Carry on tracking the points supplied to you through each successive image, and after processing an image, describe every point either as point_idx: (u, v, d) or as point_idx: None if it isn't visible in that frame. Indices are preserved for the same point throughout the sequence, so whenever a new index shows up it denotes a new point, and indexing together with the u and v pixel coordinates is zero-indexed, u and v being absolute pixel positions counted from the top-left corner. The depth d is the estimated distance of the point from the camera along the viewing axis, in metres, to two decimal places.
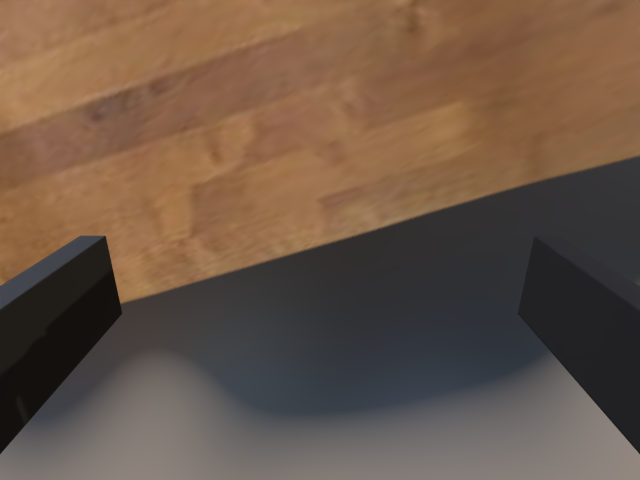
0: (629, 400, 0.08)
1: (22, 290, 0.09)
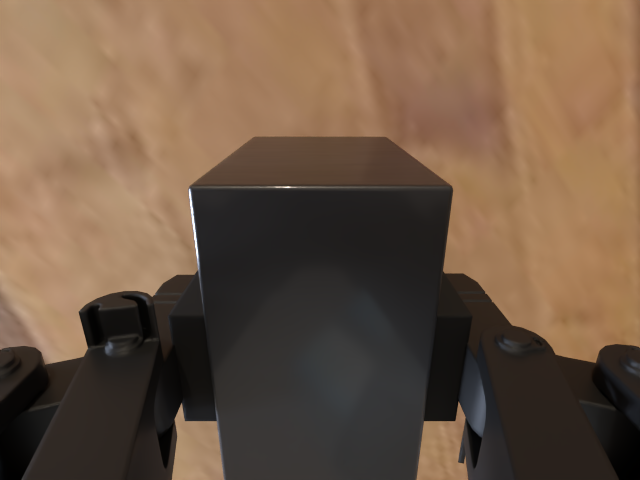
0: None
1: None
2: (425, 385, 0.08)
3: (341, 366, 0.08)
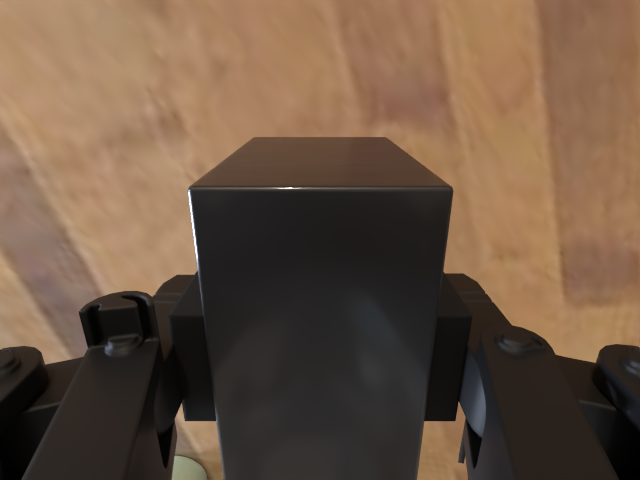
0: None
1: None
2: (425, 386, 0.08)
3: (341, 366, 0.08)
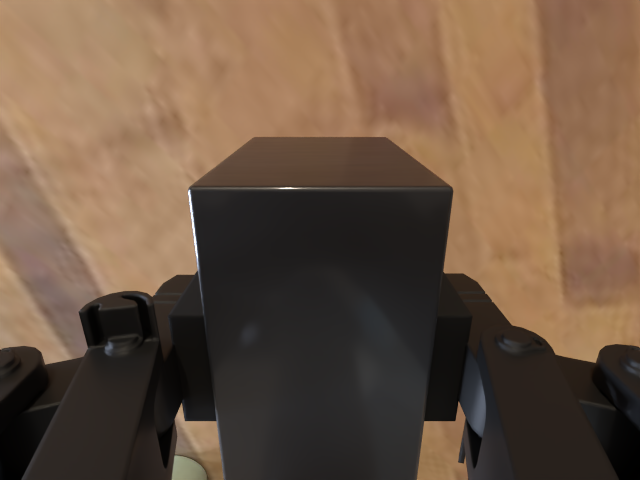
0: None
1: None
2: (425, 386, 0.08)
3: (341, 366, 0.08)
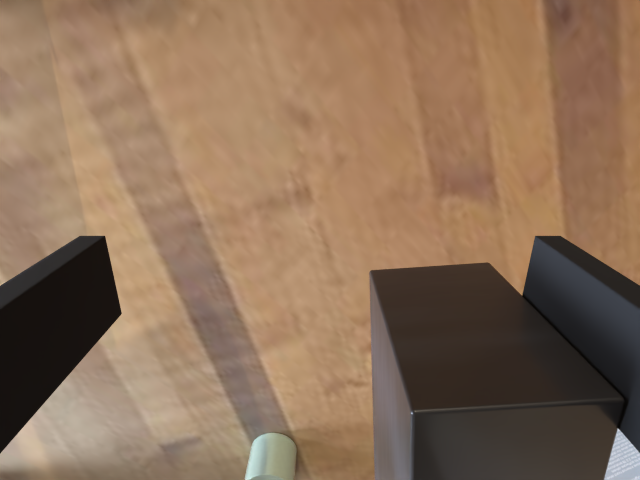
0: (630, 400, 0.08)
1: (21, 290, 0.09)
2: None
3: None
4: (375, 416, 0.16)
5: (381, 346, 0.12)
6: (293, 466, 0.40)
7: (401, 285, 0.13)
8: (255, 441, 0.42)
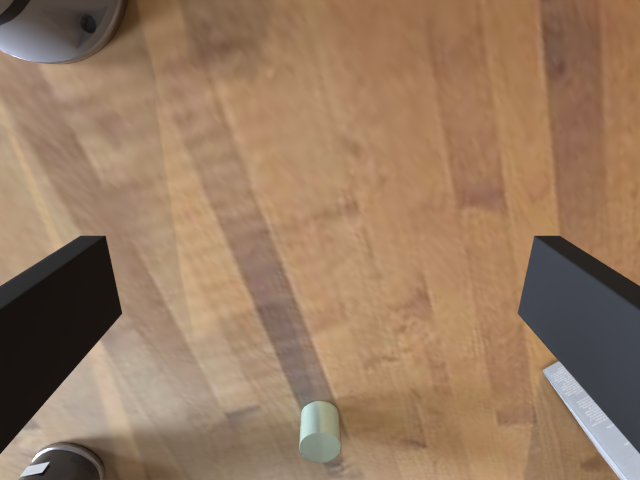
0: (629, 400, 0.08)
1: (22, 290, 0.09)
2: None
3: None
4: None
5: None
6: (338, 427, 0.49)
7: None
8: (305, 408, 0.51)
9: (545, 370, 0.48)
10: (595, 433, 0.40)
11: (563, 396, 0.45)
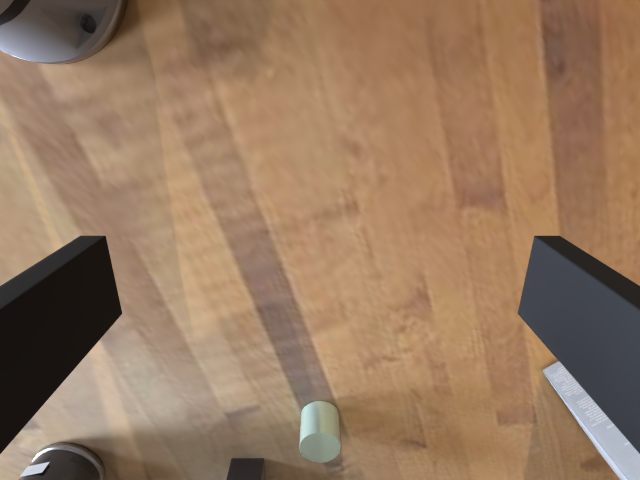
0: (629, 400, 0.08)
1: (22, 290, 0.09)
2: None
3: None
4: None
5: None
6: (338, 427, 0.49)
7: (236, 467, 0.53)
8: (305, 408, 0.51)
9: (545, 370, 0.48)
10: (595, 433, 0.40)
11: (563, 396, 0.45)
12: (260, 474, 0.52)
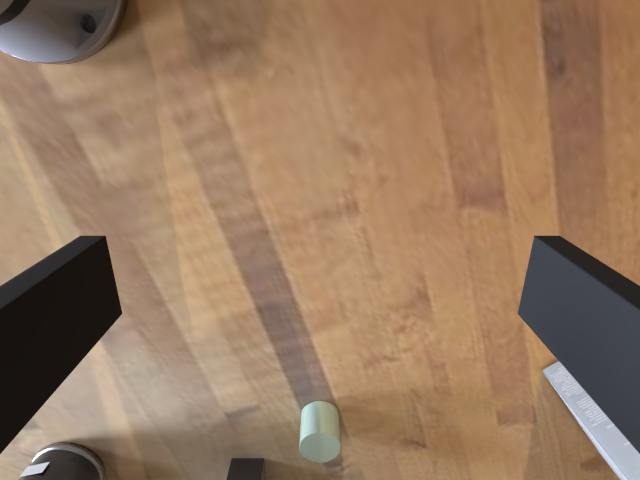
0: (629, 400, 0.08)
1: (22, 290, 0.09)
2: None
3: None
4: None
5: None
6: (338, 427, 0.49)
7: (236, 467, 0.53)
8: (305, 408, 0.51)
9: (545, 370, 0.48)
10: (595, 433, 0.40)
11: (563, 396, 0.45)
12: (260, 474, 0.52)
